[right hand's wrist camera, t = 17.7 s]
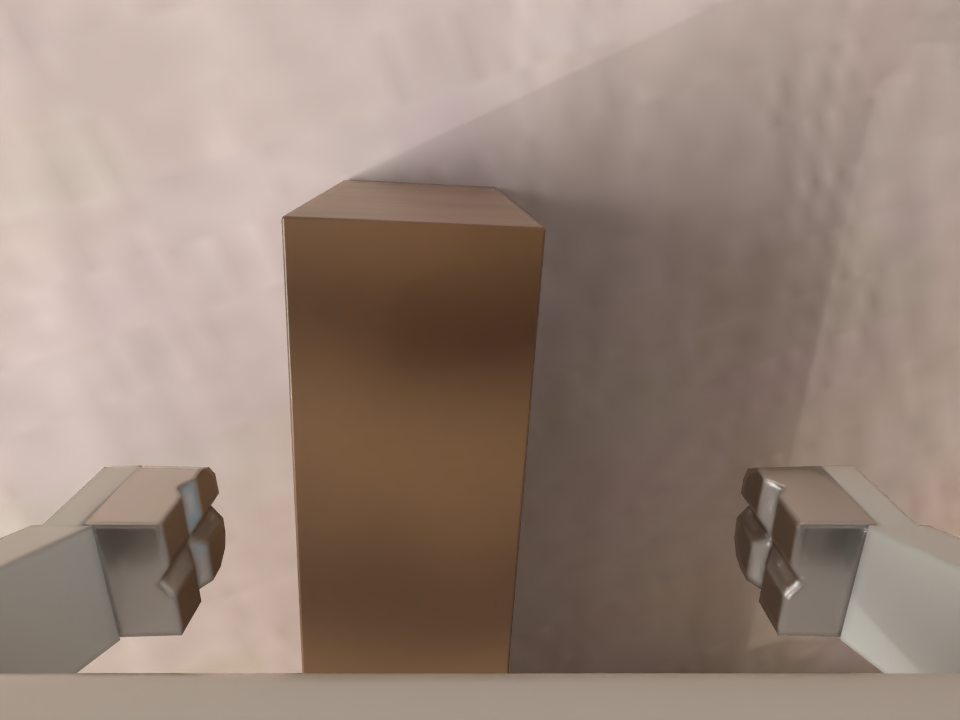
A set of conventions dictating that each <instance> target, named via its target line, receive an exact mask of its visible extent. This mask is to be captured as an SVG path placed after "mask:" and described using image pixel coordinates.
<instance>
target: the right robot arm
mask: <svg viewBox="0 0 960 720" xmlns="http://www.w3.org/2000/svg"><path fill="white" fill-rule="evenodd" d="M218 494H219V491H218V486H217V481H216V476H215V473H214V472H213V471H212V470H211V469H210V468H209V467H166V466H144V467H143V466H141V465H139V466H111V467H104V468H103V469H102V470H101V471H100V472H99V473H98V474H97V475H96V476H95V477H94V478H92V479H91V480H90V481H89V482H88V483H87V484H86V485H85V486H84V487H83V488H82V489H81V490H80V491H79V492H77V493H76V494H75V495H74V496H73V497H72V498H71V499H70V500H69V501H68V502H67V503H66V504H65V505H64V506H63V507H61V508H60V509H59V510H58V511H57V512H56V513H55V514H54V515H53V516H52V517H51V518H50V519H49V520H48V521H47V522H45V523H44V524H43V525H42V526H29V527H27V528H24V529H22V530H19V531H17V532H15V533H12V534H10V535H8V536H5V537H3V538H0V720H960V539H959V538H957V537H955V536H952V535H950V534H948V533H945V532H943V531H941V530H938V529H936V528H933V527H931V526H918V525H917V524H916V523H915V522H914V521H912V520H911V519H910V518H909V517H908V516H907V515H906V514H905V513H904V512H903V511H902V510H901V509H900V508H899V507H898V506H896V505H895V504H894V503H893V502H892V501H891V500H890V499H889V498H888V497H887V496H886V495H885V494H884V493H883V492H882V491H881V490H879V489H878V488H877V487H876V486H875V485H874V484H873V483H872V482H871V481H870V480H869V479H868V478H867V477H866V476H865V475H863V474H862V473H861V472H860V471H859V470H858V469H857V468H855V467H851V466H848V465H843V466H809V467H768V468H750V469H748V470H747V472H746V474H745V477H744V479H743V485H742V490H741V494H742V495H743V497H744V498H745V500H746V501H747V503H748V504H749V506H748V507H747V508H746V509H745V510H744V511H743V512H742V513H741V514H740V515H739V516H738V517H737V521H736V529H735V536H734V538H735V548H736V556H737V559H738V563H739V566H740V569H741V570H742V572H743V574H744V576H745V578H746V580H748V581H749V582H751V583H752V584H754V585H755V586H757V587H758V588H760V589H761V592H760V597H759V603H760V604H761V606H762V608H763V609H764V611H765V613H766V615H767V616H768V618H769V620H770V622H771V623H772V625H773V627H774V628H775V630H776V632H777V634H778V635H789V636H826V637H840V640H841V641H842V642H844V643H845V644H846V645H848V646H849V647H850V648H852V649H853V650H854V651H855V652H857V653H858V654H859V655H861V656H862V657H863V658H865V659H866V660H867V661H869V662H870V663H871V664H872V665H874V666H875V667H876V668H878V669H879V670H880V671H882V672H883V673H77V672H79V671H80V670H81V669H82V668H84V667H85V666H86V665H88V664H89V663H90V662H92V661H93V660H94V659H96V658H97V657H98V656H100V655H101V654H102V653H103V652H105V651H106V650H107V649H109V648H110V647H111V646H113V645H114V644H115V643H117V642H118V641H119V640H120V637H134V636H169V635H182V634H183V632H184V630H185V628H186V627H187V625H188V623H189V622H190V620H191V618H192V616H193V615H194V613H195V611H196V609H197V608H198V606H199V604H200V602H201V597H200V592H199V589H200V588H201V587H203V586H205V585H206V584H208V583H209V582H211V581H212V580H214V578H215V576H216V574H217V572H218V570H219V568H220V566H221V562H222V558H223V554H224V550H225V527H224V521H223V517H222V516H221V515H220V514H219V513H218V512H217V511H216V510H215V509H214V508H213V507H212V506H211V504H212V503H213V501H214V500H215V498H216V497H217V495H218Z"/></svg>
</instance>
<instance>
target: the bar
mask: <svg viewBox="0 0 960 720" xmlns="http://www.w3.org/2000/svg"><path fill="white" fill-rule="evenodd" d="M282 236H283V258H284V280H285V302H286V324H287V346H288V368H289V389H290V411H291V433H292V455H293V477H294V499H295V521H296V543H297V564H298V586H299V608H300V630H301V652H302V673H508V668H509V656H510V644H511V632H512V620H513V608H514V597H515V585H516V573H517V561H518V549H519V537H520V525H521V514H522V502H523V490H524V478H525V466H526V454H527V443H528V431H529V419H530V407H531V395H532V383H533V372H534V360H535V348H536V336H537V324H538V312H539V301H540V289H541V277H542V265H543V253H544V241H545V228H544V227H543V226H541V225H540V224H539V223H538V222H537V221H535V220H534V219H533V218H532V217H530V216H529V215H528V214H527V213H526V212H524V211H523V210H522V209H521V208H519V207H518V206H517V205H516V204H515V203H513V202H512V201H511V200H510V199H508V198H507V197H506V196H505V195H504V194H502V193H501V192H500V191H499V190H497V189H496V188H495V187H478V186H457V185H436V184H416V183H395V182H375V181H354V180H344V181H343V182H341V183H339V184H338V185H336V186H334V187H332V188H331V189H329V190H327V191H326V192H324V193H322V194H321V195H319V196H317V197H315V198H314V199H312V200H310V201H309V202H307V203H305V204H303V205H302V206H300V207H298V208H297V209H295V210H293V211H292V212H290V213H288V214H286V215H285V216H283V217H282Z"/></svg>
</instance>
